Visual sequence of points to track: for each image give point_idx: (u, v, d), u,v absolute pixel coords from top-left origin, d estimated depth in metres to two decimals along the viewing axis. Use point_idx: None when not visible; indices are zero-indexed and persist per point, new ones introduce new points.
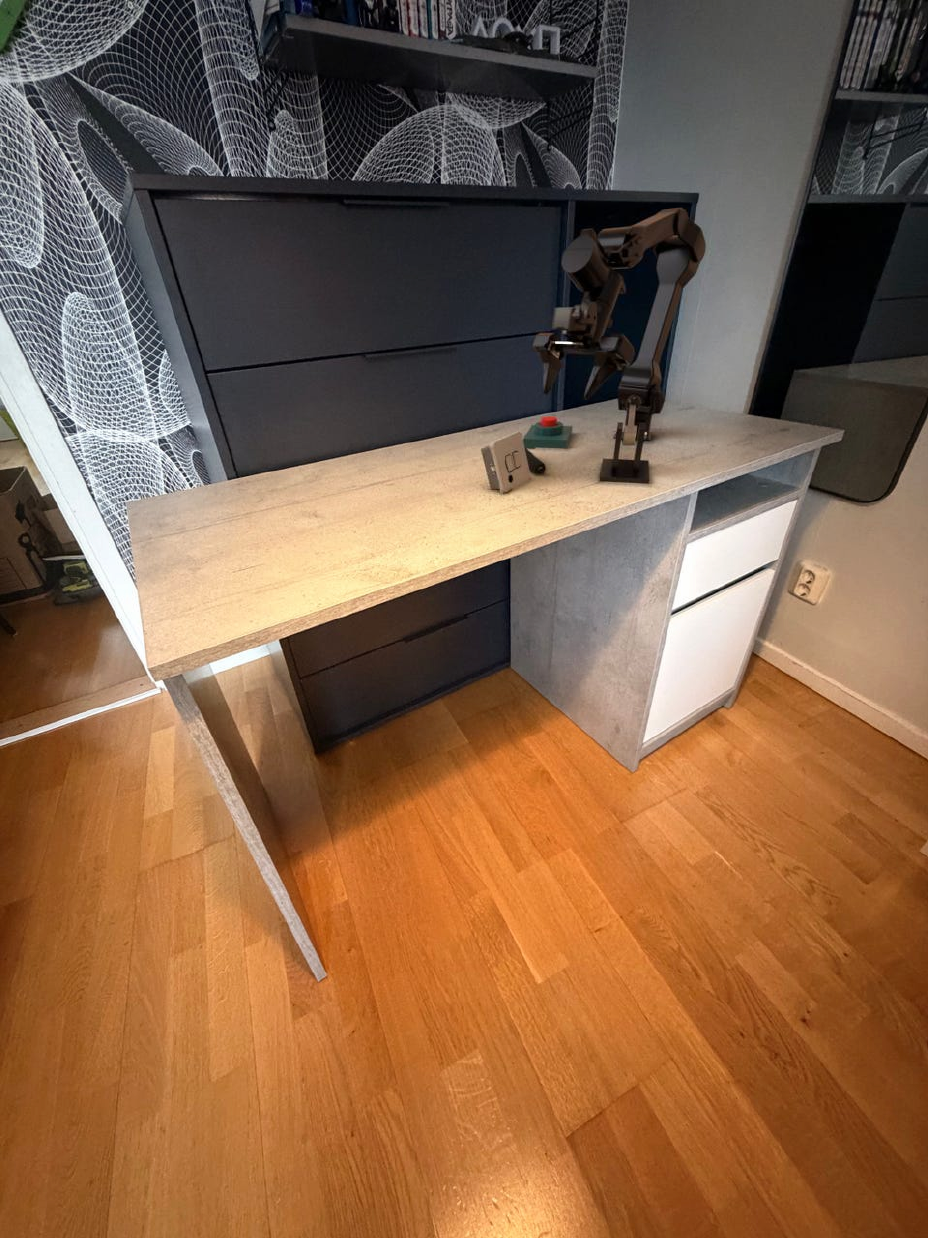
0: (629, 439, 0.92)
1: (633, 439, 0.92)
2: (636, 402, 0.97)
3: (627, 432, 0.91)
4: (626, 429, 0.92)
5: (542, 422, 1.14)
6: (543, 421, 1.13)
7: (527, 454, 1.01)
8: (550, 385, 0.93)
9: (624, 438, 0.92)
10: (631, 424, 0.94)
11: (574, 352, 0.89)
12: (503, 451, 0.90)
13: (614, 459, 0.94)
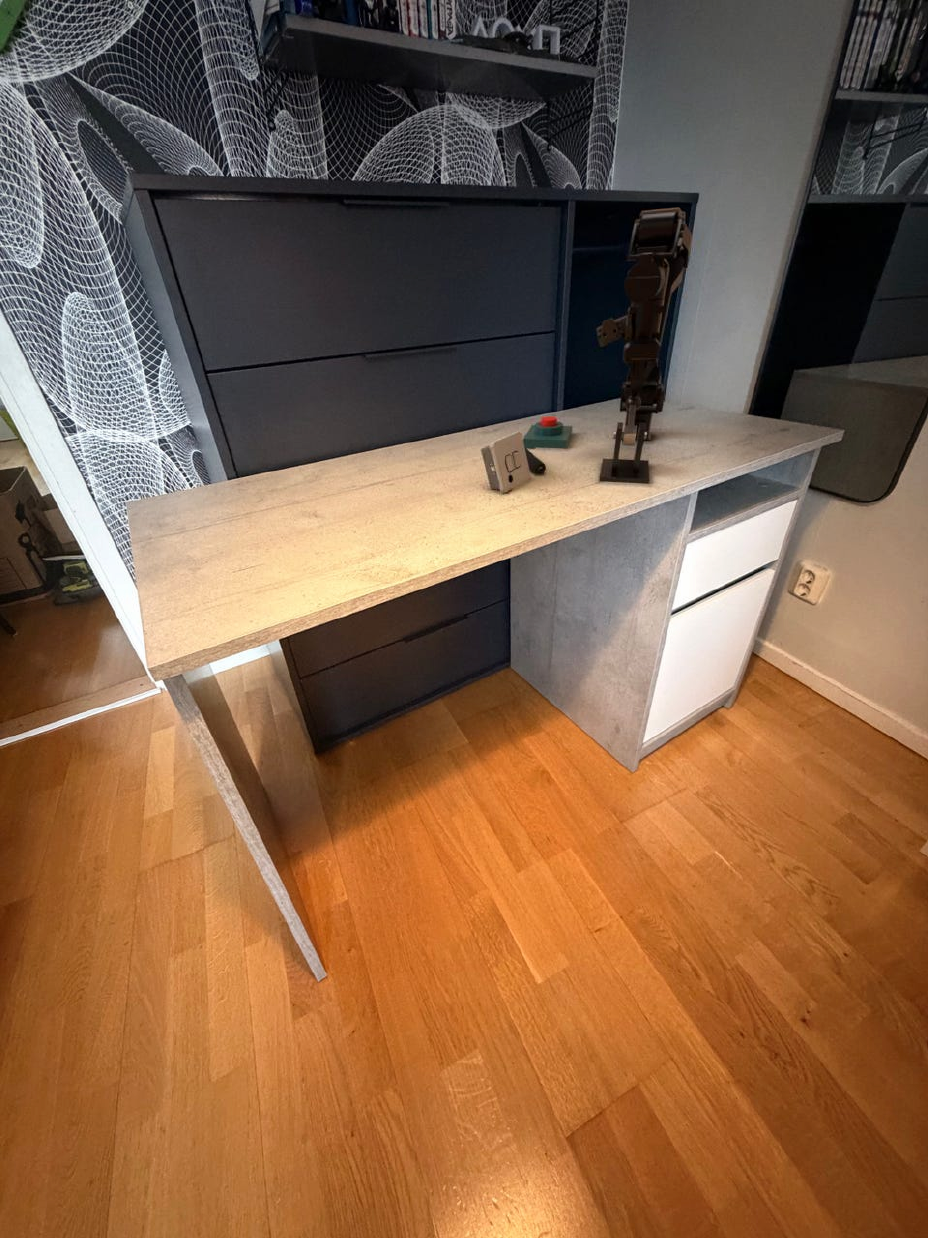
0: (629, 439, 0.92)
1: (633, 439, 0.92)
2: (636, 402, 0.97)
3: (627, 432, 0.91)
4: (626, 429, 0.92)
5: (542, 422, 1.14)
6: (543, 421, 1.13)
7: (527, 454, 1.01)
8: None
9: (624, 438, 0.92)
10: (631, 424, 0.94)
11: None
12: (503, 451, 0.90)
13: (614, 459, 0.94)
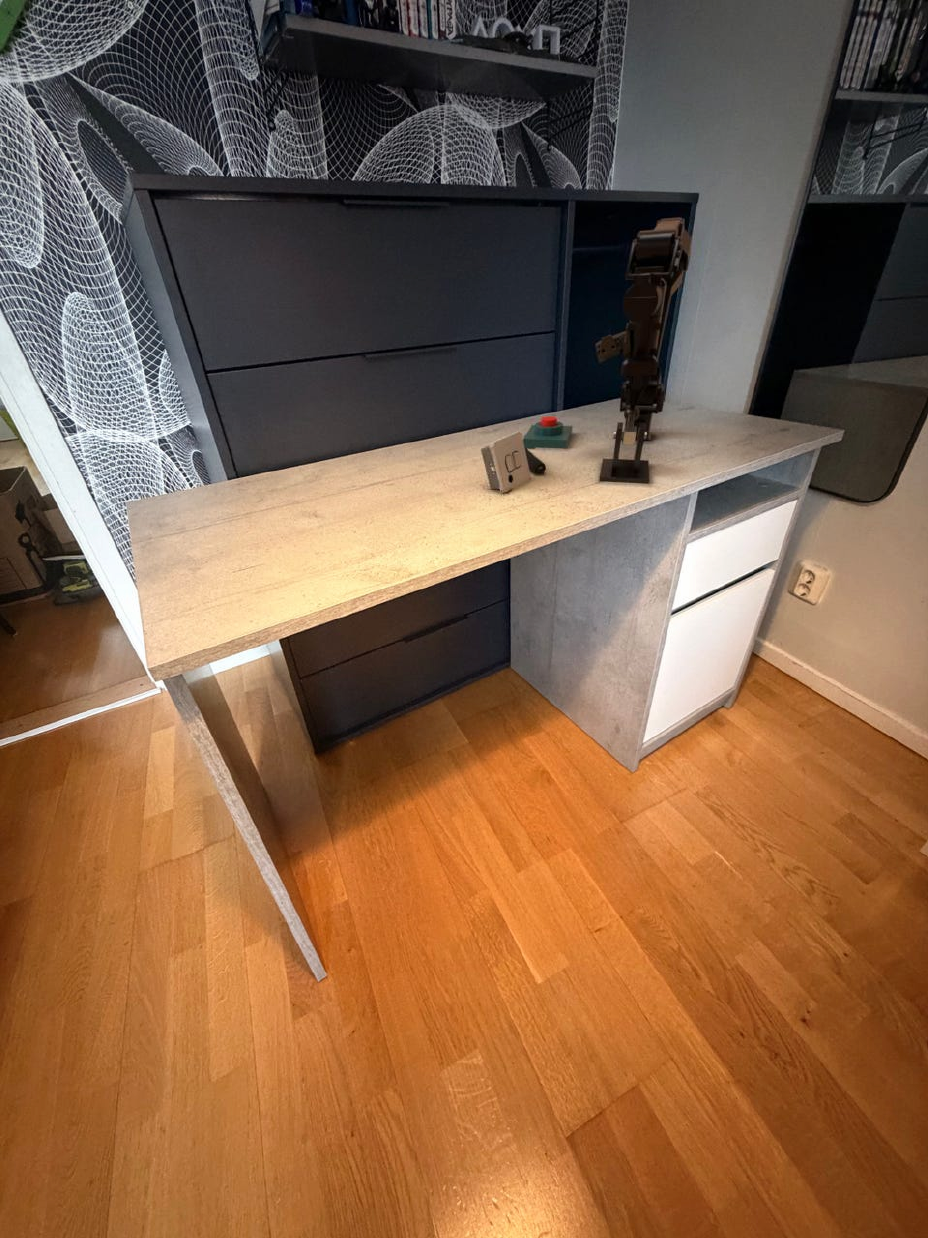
0: (629, 438, 0.92)
1: (633, 438, 0.91)
2: (635, 411, 0.99)
3: (627, 431, 0.91)
4: (626, 428, 0.92)
5: (542, 422, 1.14)
6: (543, 421, 1.13)
7: (527, 454, 1.01)
8: None
9: (624, 437, 0.92)
10: None
11: None
12: (503, 451, 0.90)
13: (614, 459, 0.94)
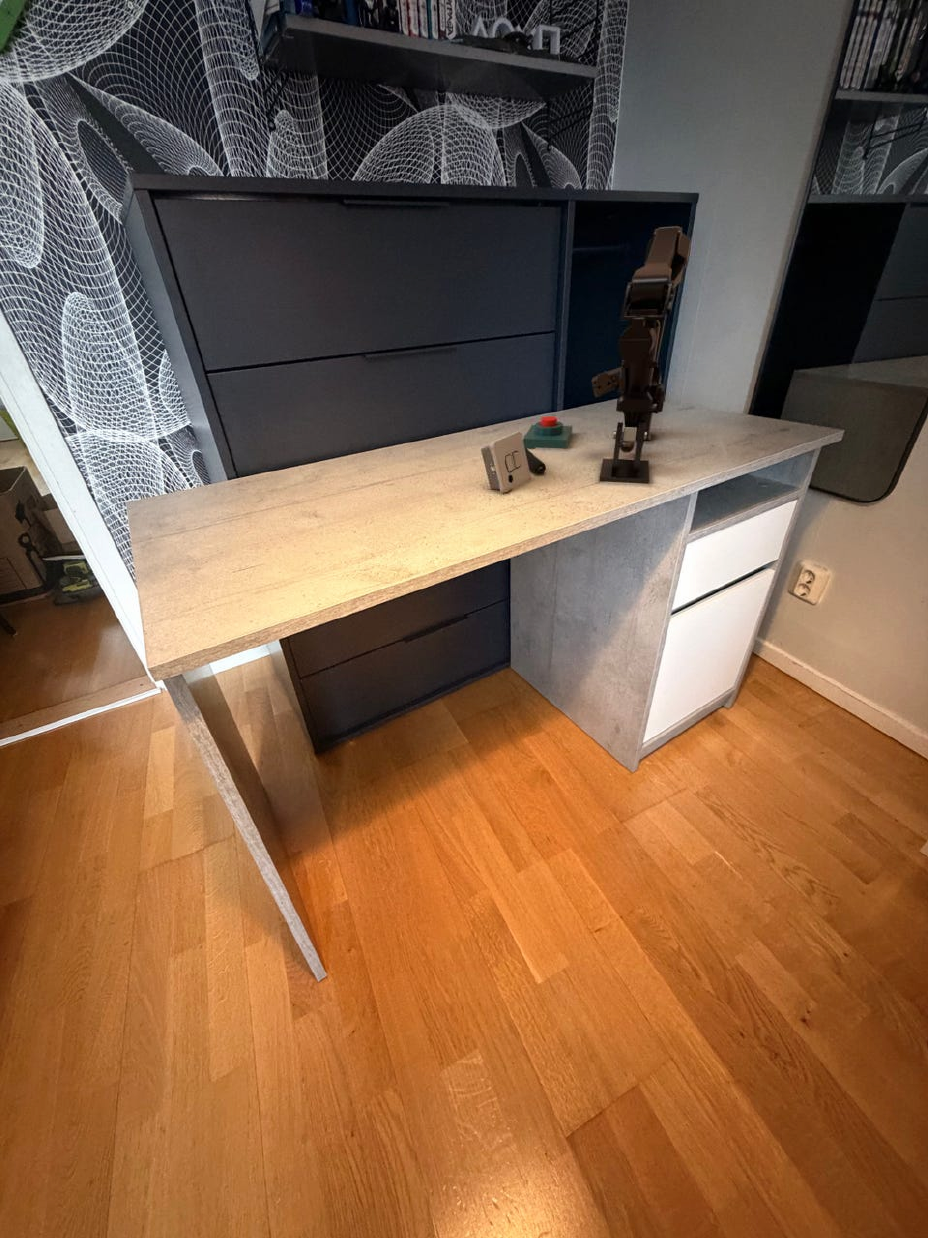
0: (630, 433, 0.91)
1: (634, 433, 0.91)
2: None
3: (627, 427, 0.92)
4: None
5: (542, 422, 1.14)
6: (543, 421, 1.13)
7: (527, 454, 1.01)
8: None
9: (625, 432, 0.92)
10: None
11: None
12: (503, 451, 0.90)
13: (614, 459, 0.94)
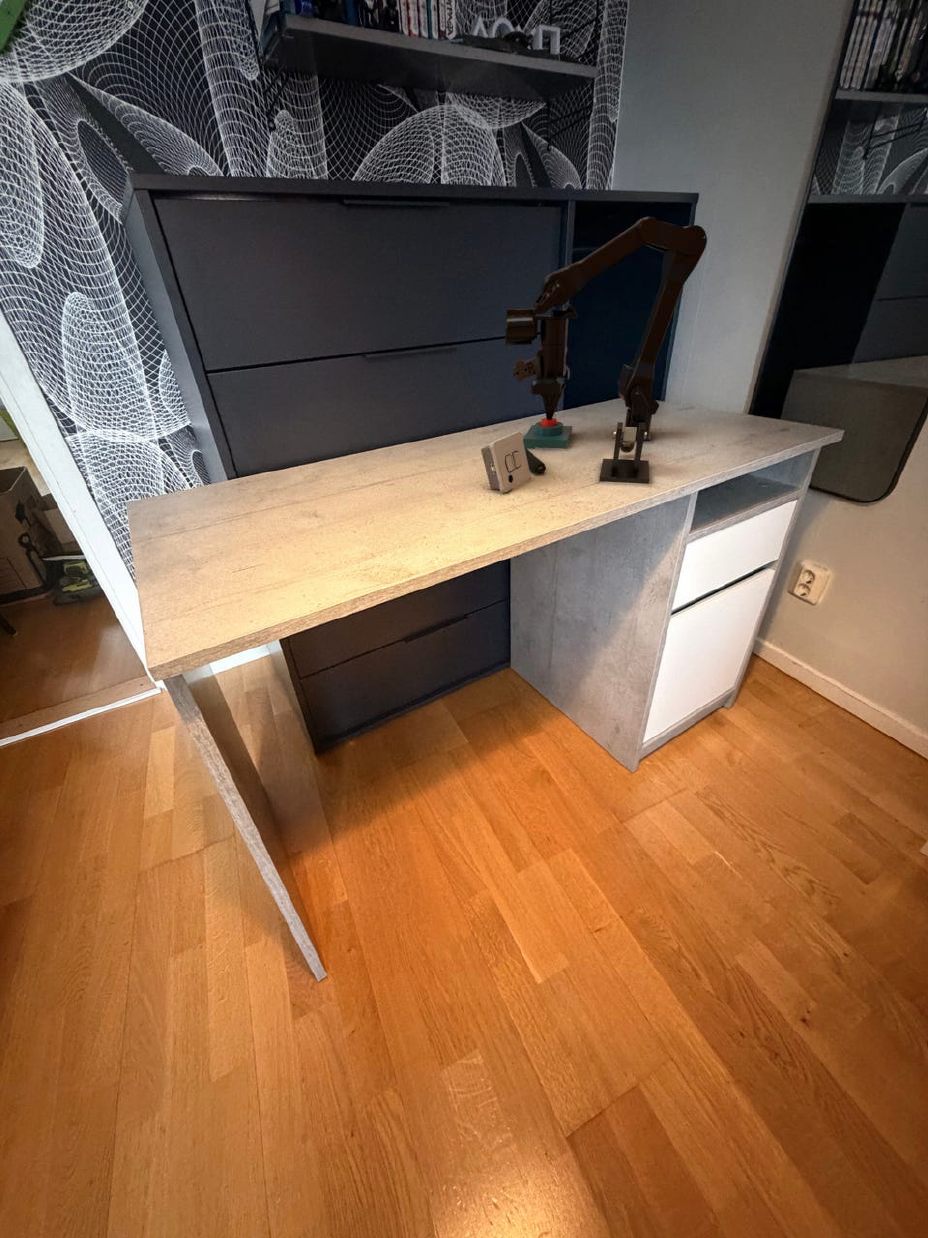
0: (630, 433, 0.91)
1: (634, 433, 0.91)
2: None
3: (627, 427, 0.92)
4: None
5: (542, 423, 1.14)
6: (543, 422, 1.14)
7: (527, 454, 1.01)
8: None
9: (625, 432, 0.92)
10: None
11: None
12: (503, 451, 0.90)
13: (614, 459, 0.94)
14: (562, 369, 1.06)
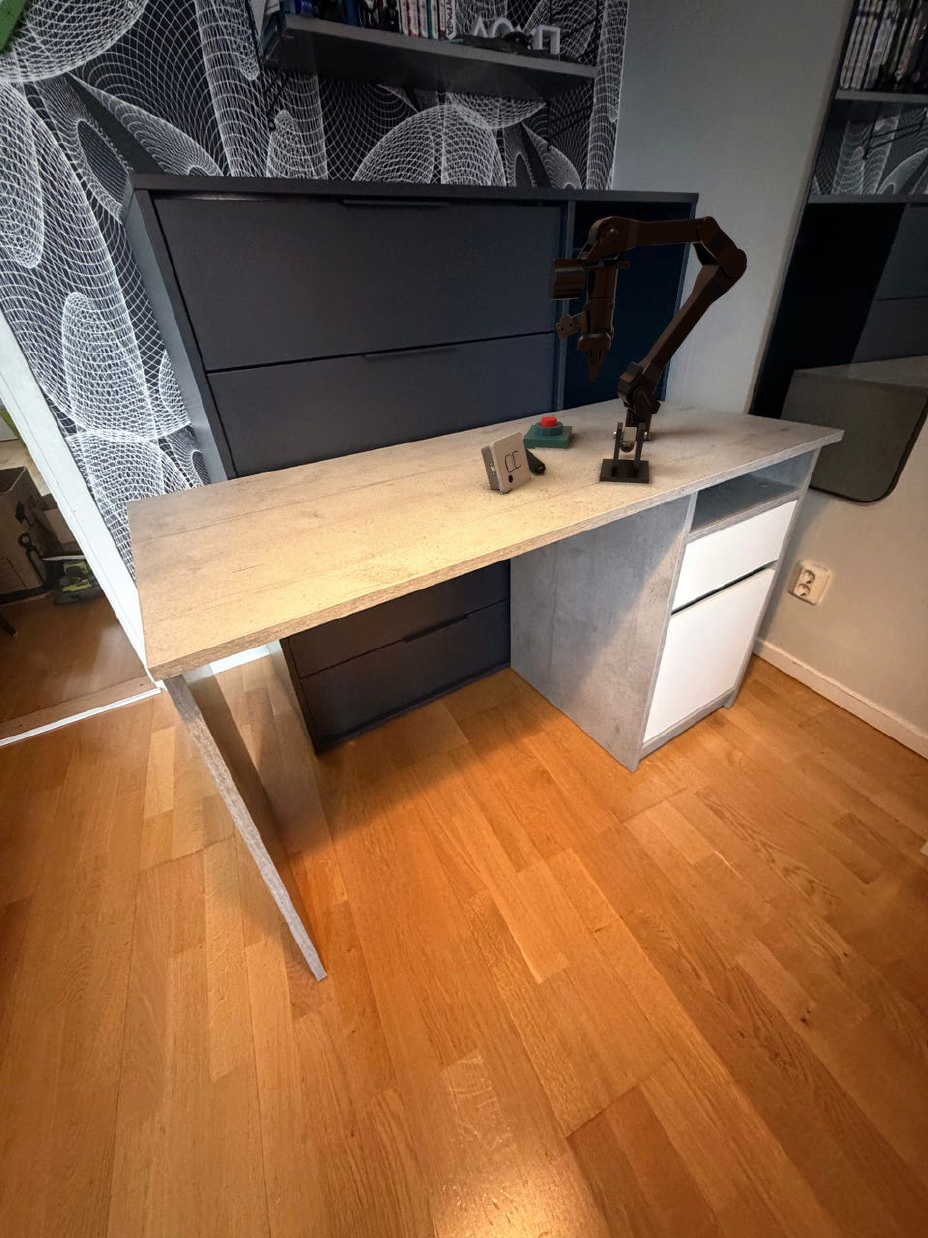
0: (630, 433, 0.91)
1: (634, 433, 0.91)
2: None
3: (627, 427, 0.92)
4: None
5: (542, 422, 1.14)
6: (543, 421, 1.13)
7: (527, 454, 1.01)
8: None
9: (625, 432, 0.92)
10: None
11: None
12: (503, 451, 0.90)
13: (614, 459, 0.94)
14: (609, 325, 1.00)
